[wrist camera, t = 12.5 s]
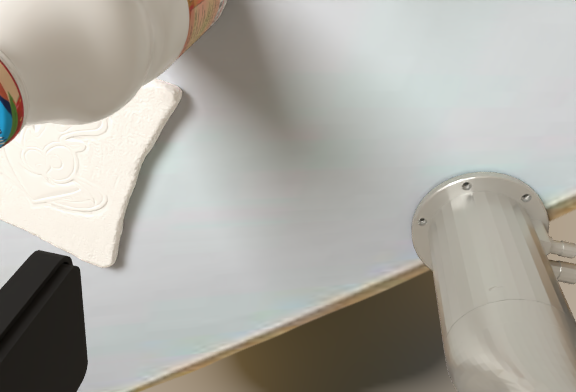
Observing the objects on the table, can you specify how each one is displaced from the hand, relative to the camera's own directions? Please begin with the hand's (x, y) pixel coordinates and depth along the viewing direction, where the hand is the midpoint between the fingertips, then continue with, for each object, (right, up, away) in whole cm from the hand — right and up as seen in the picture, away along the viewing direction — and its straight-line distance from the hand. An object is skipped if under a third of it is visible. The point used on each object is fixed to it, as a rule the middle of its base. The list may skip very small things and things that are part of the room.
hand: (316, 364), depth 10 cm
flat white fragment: (-24, +9, +45) cm, 52 cm away
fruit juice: (-10, +21, +34) cm, 41 cm away
